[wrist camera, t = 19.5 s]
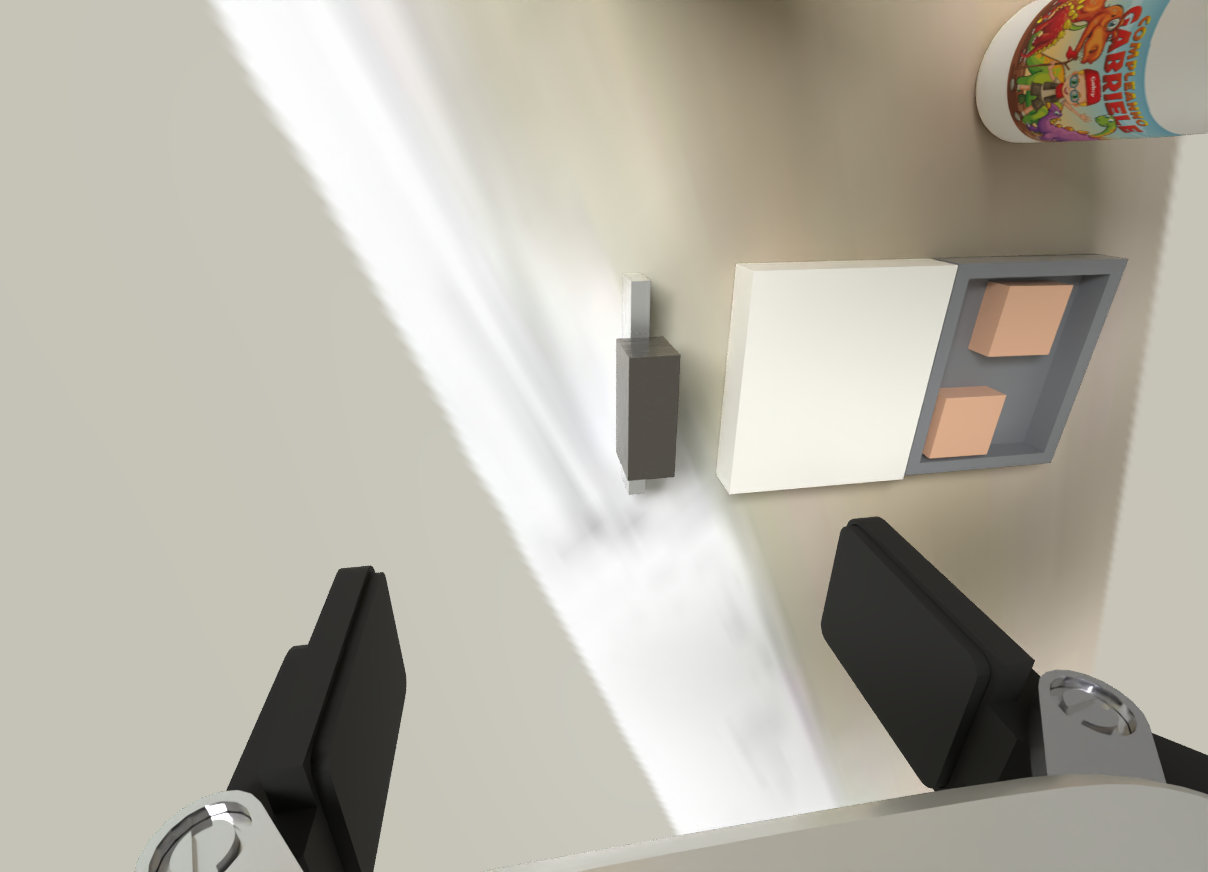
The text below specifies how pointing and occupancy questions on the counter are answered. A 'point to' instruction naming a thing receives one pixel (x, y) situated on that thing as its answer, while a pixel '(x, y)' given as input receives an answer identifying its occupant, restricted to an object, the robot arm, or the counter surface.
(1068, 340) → the tray
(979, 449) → the tile
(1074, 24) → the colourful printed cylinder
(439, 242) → the counter surface
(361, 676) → the robot arm
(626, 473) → the dark block with bar
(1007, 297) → the tile
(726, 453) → the offwhite board
